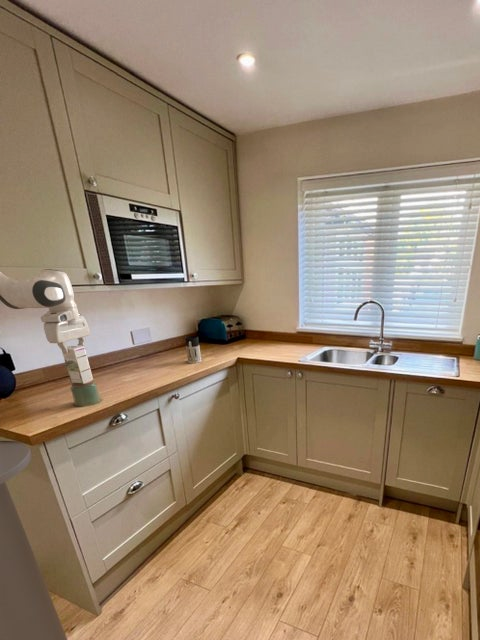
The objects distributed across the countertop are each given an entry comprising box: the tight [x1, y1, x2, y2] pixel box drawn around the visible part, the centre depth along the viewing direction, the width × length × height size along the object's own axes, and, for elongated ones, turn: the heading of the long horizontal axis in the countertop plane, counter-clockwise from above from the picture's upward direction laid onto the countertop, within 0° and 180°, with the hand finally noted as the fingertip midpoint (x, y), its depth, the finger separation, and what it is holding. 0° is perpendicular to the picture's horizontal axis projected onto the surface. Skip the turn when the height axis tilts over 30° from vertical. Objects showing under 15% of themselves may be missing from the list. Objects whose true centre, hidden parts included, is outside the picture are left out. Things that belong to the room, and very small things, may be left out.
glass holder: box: [184, 335, 203, 364], centre depth 199 cm, size 9×14×15 cm, turn 10°
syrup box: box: [62, 345, 94, 384], centre depth 133 cm, size 6×6×14 cm
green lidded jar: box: [69, 379, 101, 407], centre depth 137 cm, size 9×9×9 cm
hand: (74, 350), depth 131 cm, fingers open, 8 cm apart
